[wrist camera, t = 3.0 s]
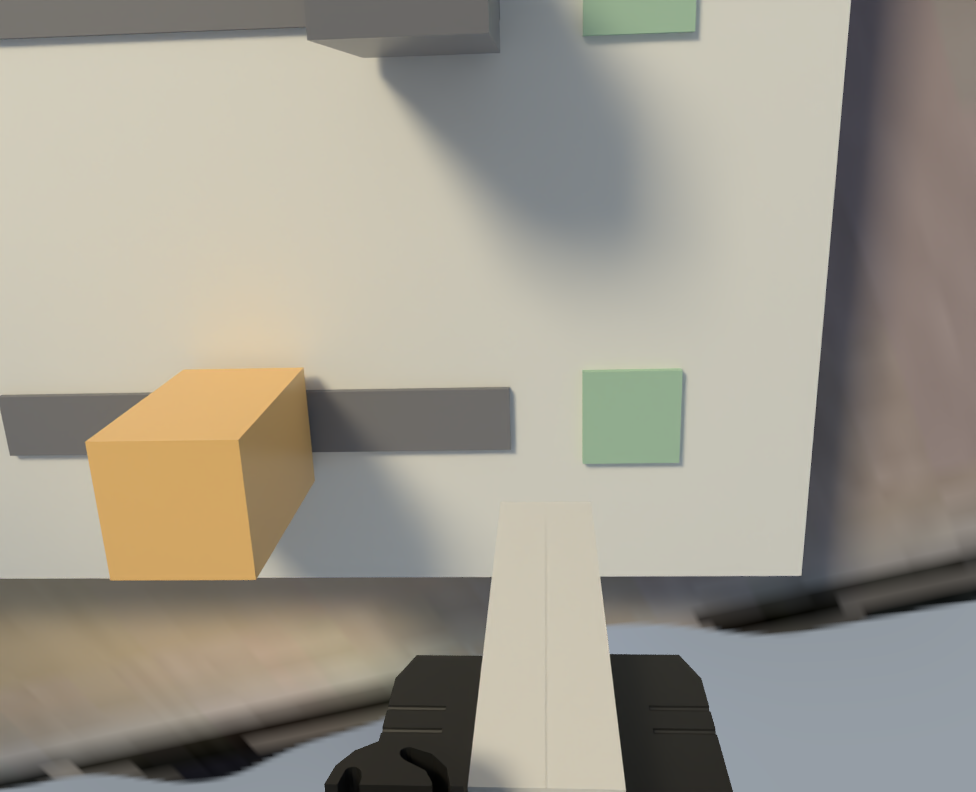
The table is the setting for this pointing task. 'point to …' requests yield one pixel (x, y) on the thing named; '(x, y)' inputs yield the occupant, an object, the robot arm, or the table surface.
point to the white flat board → (430, 269)
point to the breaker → (404, 26)
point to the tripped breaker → (203, 474)
